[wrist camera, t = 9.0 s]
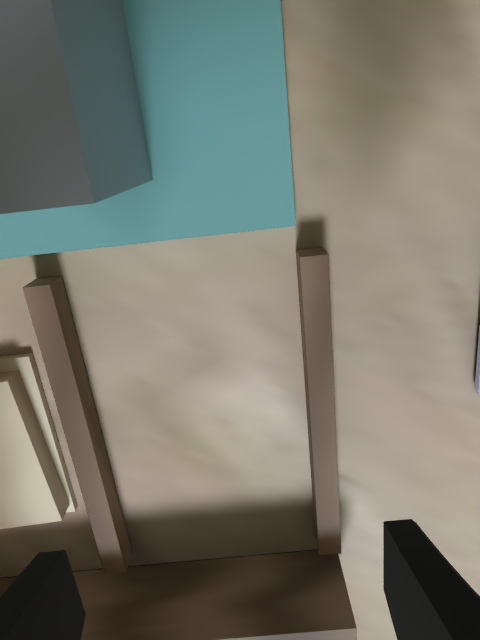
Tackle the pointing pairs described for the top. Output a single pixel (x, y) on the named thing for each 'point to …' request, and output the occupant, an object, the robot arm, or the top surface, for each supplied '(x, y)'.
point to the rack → (217, 574)
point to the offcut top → (25, 462)
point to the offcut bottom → (40, 413)
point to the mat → (190, 133)
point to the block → (67, 105)
